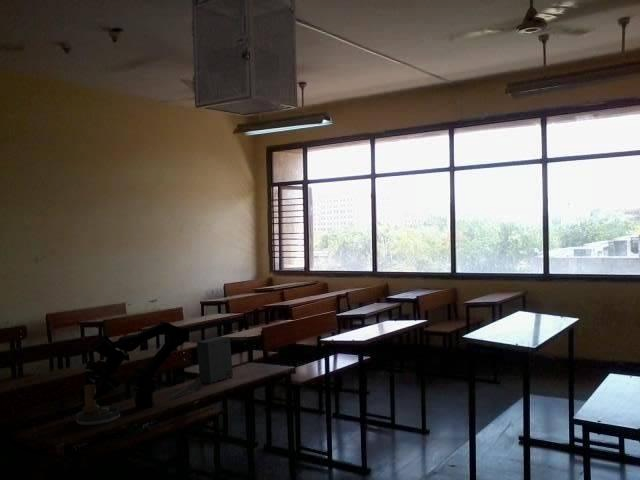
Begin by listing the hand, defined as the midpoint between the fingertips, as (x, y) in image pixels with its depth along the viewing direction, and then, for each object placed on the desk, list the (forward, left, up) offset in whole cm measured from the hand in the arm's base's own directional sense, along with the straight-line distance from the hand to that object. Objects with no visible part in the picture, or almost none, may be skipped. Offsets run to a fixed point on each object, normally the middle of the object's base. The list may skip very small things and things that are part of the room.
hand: (87, 398), depth 234 cm
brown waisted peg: (-1, -1, -8) cm, 8 cm away
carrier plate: (-3, -3, -9) cm, 10 cm away
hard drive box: (-43, -58, -9) cm, 73 cm away
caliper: (-32, -33, -9) cm, 47 cm away
